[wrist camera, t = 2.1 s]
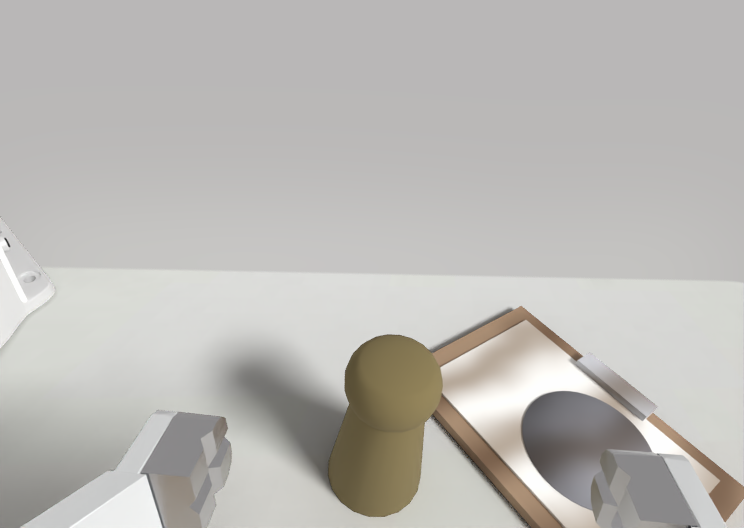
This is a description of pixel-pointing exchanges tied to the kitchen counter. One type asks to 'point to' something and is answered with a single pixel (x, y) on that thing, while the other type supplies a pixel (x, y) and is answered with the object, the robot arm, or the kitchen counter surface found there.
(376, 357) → the cork
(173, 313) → the kitchen counter surface
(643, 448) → the clipboard
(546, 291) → the kitchen counter surface
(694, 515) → the robot arm
